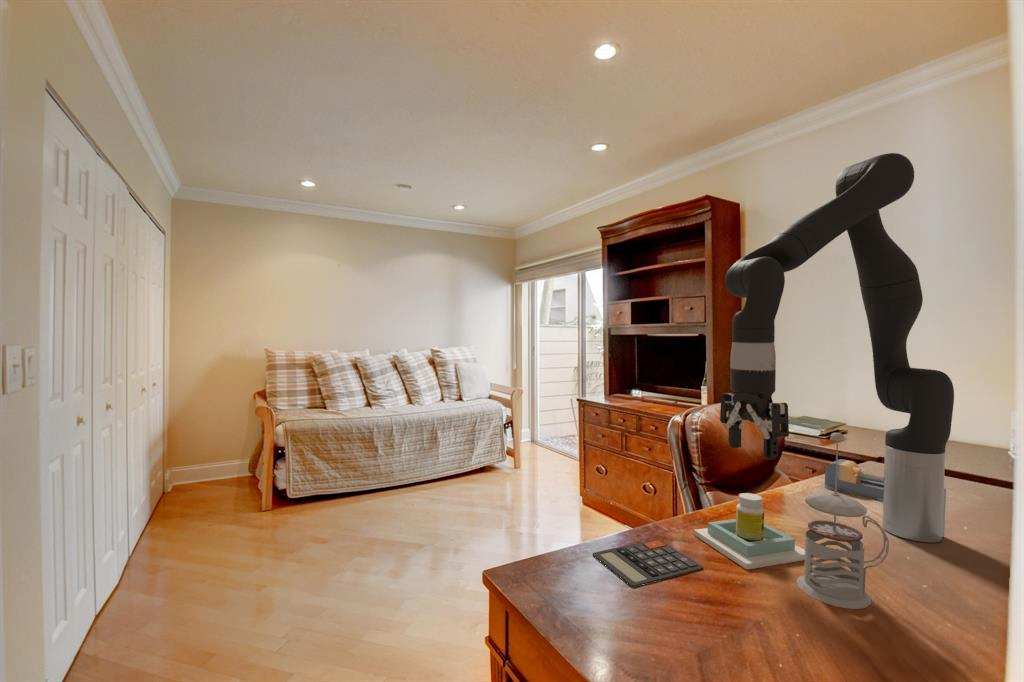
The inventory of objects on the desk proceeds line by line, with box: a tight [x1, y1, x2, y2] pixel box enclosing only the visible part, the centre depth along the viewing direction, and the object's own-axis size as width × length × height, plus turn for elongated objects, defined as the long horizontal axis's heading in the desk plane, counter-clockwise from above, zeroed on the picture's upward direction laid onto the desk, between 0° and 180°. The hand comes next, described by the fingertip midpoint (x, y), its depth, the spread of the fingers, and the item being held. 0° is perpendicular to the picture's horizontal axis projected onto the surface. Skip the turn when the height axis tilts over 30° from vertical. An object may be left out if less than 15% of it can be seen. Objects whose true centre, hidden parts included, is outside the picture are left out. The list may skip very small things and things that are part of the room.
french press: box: [796, 432, 890, 610], centre depth 74 cm, size 10×12×25 cm
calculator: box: [592, 538, 704, 588], centre depth 84 cm, size 12×1×15 cm
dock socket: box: [693, 518, 805, 570], centre depth 90 cm, size 14×14×3 cm
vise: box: [824, 458, 884, 503], centre depth 118 cm, size 18×10×7 cm, turn 39°
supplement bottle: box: [735, 492, 765, 542], centre depth 90 cm, size 5×5×8 cm
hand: (751, 453), depth 89 cm, fingers open, 8 cm apart
